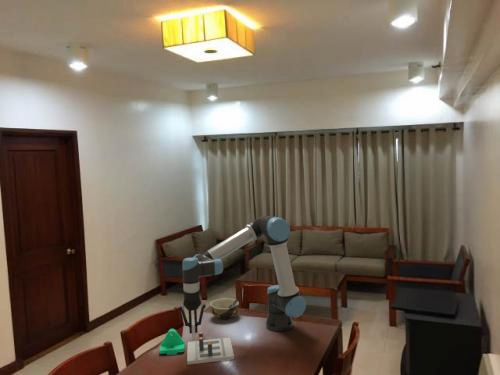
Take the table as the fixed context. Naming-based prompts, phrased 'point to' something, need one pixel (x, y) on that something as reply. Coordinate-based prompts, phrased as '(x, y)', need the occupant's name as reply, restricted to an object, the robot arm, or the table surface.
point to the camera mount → (172, 343)
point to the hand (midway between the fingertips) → (193, 339)
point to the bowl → (224, 307)
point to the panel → (219, 350)
